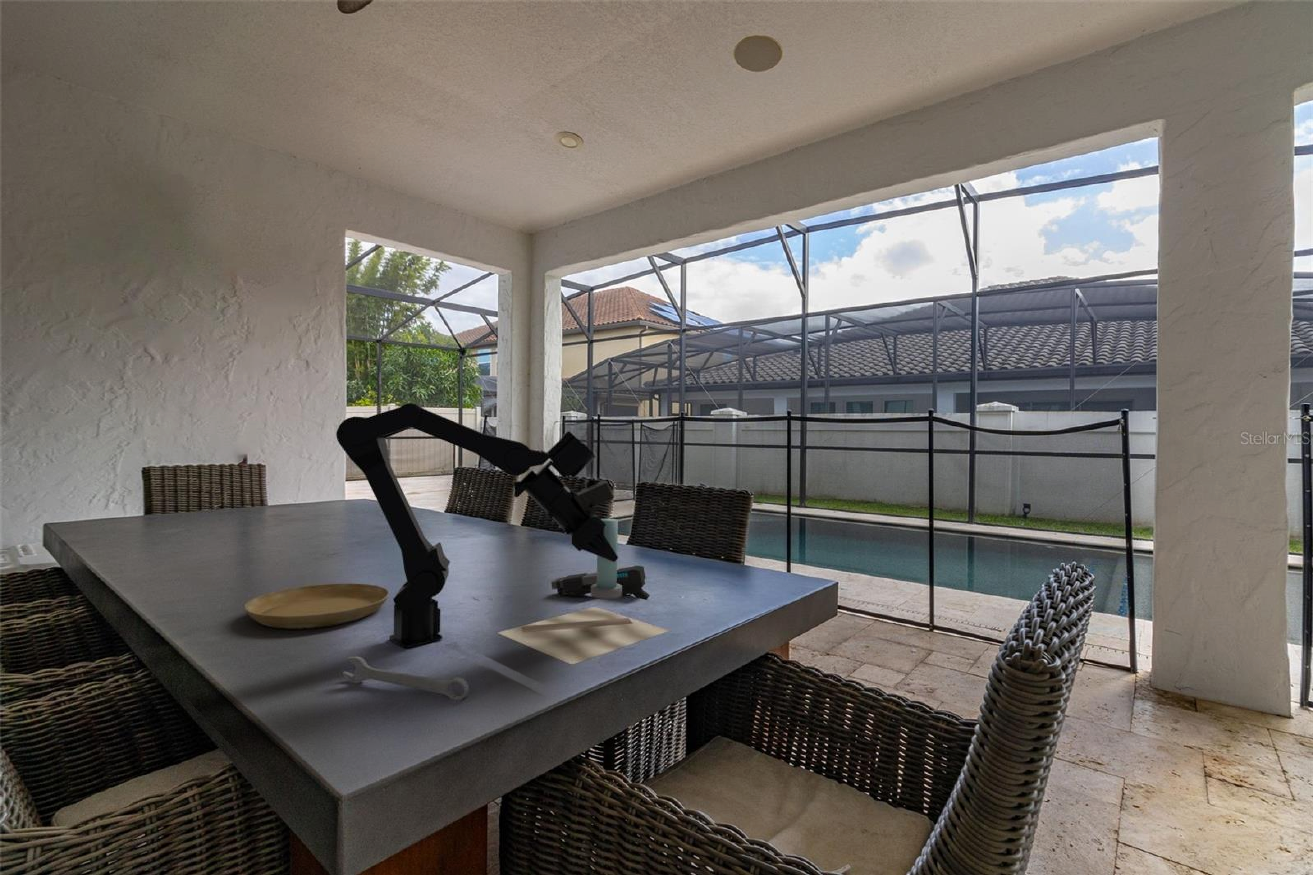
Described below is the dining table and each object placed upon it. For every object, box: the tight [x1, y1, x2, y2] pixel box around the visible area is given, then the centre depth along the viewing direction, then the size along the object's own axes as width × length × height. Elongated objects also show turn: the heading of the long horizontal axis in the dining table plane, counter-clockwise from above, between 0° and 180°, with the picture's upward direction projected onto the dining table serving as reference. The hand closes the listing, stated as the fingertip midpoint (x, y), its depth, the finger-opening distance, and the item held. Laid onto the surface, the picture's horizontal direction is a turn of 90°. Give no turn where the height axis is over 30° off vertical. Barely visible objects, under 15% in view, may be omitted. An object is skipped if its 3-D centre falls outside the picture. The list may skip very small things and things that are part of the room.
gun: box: [550, 565, 651, 601], centre depth 130 cm, size 4×20×10 cm, turn 79°
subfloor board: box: [497, 606, 671, 666], centre depth 105 cm, size 22×20×1 cm
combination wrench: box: [342, 656, 470, 701], centre depth 83 cm, size 4×1×20 cm
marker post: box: [590, 518, 623, 600], centre depth 110 cm, size 6×6×14 cm
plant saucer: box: [244, 582, 390, 630], centre depth 116 cm, size 24×24×3 cm
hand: (614, 557), depth 110 cm, fingers closed on marker post, 4 cm apart
